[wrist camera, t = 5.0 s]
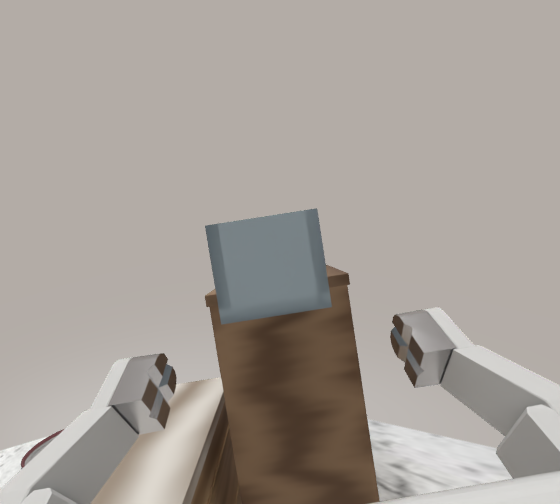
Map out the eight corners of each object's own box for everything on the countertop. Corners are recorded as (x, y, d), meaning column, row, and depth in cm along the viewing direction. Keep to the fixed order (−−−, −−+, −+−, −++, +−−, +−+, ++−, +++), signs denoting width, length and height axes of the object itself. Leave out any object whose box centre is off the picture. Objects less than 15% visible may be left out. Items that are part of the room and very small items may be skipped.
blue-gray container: (296, 267, 28) (291, 231, 28) (331, 307, 10) (316, 208, 10) (256, 273, 28) (251, 238, 28) (221, 324, 10) (204, 225, 10)
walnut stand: (349, 465, 32) (318, 261, 31) (399, 615, 19) (348, 273, 18) (267, 478, 32) (234, 274, 31) (261, 638, 19) (204, 296, 18)
